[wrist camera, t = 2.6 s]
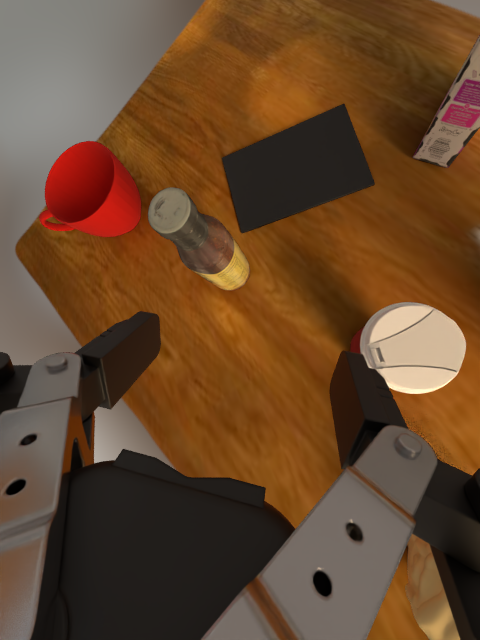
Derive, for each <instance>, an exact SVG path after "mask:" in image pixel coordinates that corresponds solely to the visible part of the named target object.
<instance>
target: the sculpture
mask: <svg viewBox="0 0 480 640" xmlns="http://www.w3.org/2000/svg"><path fill="white" fill-rule="evenodd" d="M407 545H408V559H407V570H408V580H409V582H408V584H407V585H406V587H405V590H406V595H407V598H408V600H409V601H410V603H411V608H412V612H413V615H414V617H415V619H416V621H417V623H418V625H419V626H420V628H421V629H422V630H423V631H424V632H425V633H426V635H427V637H428V638H429V640H460V637H459V634H458V631H457V628H456V625H455V622H454V618H453V615H452V612H451V609H450V606H449V603H448V600H447V597H446V594H445V591H444V588H443V585H442V582H441V579H440V575H439V572H438V569H437V566H436V563H435V560H434V557H433V554H432V551H431V548H430V545H429V543H427V542H425V541H424V540H422V539H420V538H419V537H417V536H415V535H414V534H412V535H411V537H410V539H409V542H408V544H407Z"/></svg>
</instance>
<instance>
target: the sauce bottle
mask: <svg viewBox="0 0 480 640" xmlns="http://www.w3.org/2000/svg"><path fill="white" fill-rule="evenodd" d="M148 220H149V223H150V225H151V226H152V228H153V229H154V230H155V231H156V232H158V233H159V234H160V235H161V236H162V237H164V238H166V239H170V240H171V241H173V243H174V244H175V245H176V246H177V249H178V252H179V255H180V258H181V260H182V262H183V263H184V264H185V265H186V266H187V267H188V268H189V269H191V270H192V271H194V272H195V273H197V274H199V275H200V276H202V277H203V278H205V279H206V280H208V281H209V282H211V283H213V284H214V285H216V286H217V287H219V288H221V289H224V290H237V289H239V288H240V287H242V286H243V285H244V284H245V283H246V282H247V280H248V279H249V276H250V268H249V263H248V261H247V258H246V257H245V255H244V254H243V252H242V251H241V249H240V248H239V246H238V245H237V243H236V242H235V240H234V239H233V237H232V236H231V234H230V233H229V232H228V231H227V230H226V228H225V227H224V226H223V224H222V223H220V221H218V220H217V219H216V218H214V217H211V216H208V215H204V214H200V213H199V212H198V211H197V208H196V206H195V204H194V203H193V201H192V200H191V198H190V197H189V196H188V195H187V194H186V193H185V192H184V191H183V190H181V189H179V188H166V189H164V190H162V191H160V192H159V193H158V194H156V195H155V197H154V198H153V199H152V201H151V203H150V206H149V211H148Z"/></svg>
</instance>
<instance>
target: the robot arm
mask: <svg viewBox="0 0 480 640" xmlns="http://www.w3.org/2000/svg"><path fill="white" fill-rule="evenodd" d="M160 345H161V342H160V323H159V316H158V315H157V314H153V313H148V312H143V311H140V312H138V313H137V314H135V315H134V316H132V317H131V318H130V319H128V320H124V321H122V322H119V323H116V324H115V325H113V326H112V327H110V328H109V329H107V331H105V332H103V333H102V334H100V336H98V337H96V338H95V339H93V340H92V341H91V342H89V343H88V344H86V345H85V346H84V347H82V348H81V349H79V350H78V351H77V352H75V353H70V352H63V353H56V354H52V355H49V356H46V357H44V358H42V359H40V360H39V361H37V362H36V363H35V364H34V365H22V366H21V365H18V366H17V365H16V366H15V365H12V362H11V359H10V357H9V355H8V354H6V353H3V352H0V640H366V638H367V636H368V634H369V632H370V629H371V627H372V625H373V622H374V620H375V618H376V615H377V613H378V611H379V608H380V606H381V604H382V602H383V599H384V597H385V595H386V592H387V590H388V588H389V585H390V583H391V581H392V579H393V576H394V574H395V572H396V569H397V567H398V565H399V562H400V560H401V558H402V555H403V553H404V551H405V549H406V546H407V544H408V542H409V539H410V537H411V535H412V534H414V535H415V536H417V537H419V538H420V539H422V540H424V541H425V542H427V543H429V545H430V548H431V551H432V554H433V557H434V560H435V563H436V566H437V569H438V572H439V575H440V579H441V582H442V585H443V588H444V591H445V594H446V597H447V600H448V603H449V606H450V609H451V612H452V615H453V618H454V622H455V625H456V628H457V631H458V634H459V637H460V640H480V468H479V469H478V470H477V471H476V472H475V473H474V475H473V476H472V475H469V474H467V473H465V472H463V471H461V470H459V469H457V468H455V467H452V466H450V465H448V464H446V463H444V462H442V461H440V460H438V459H437V457H436V454H435V452H434V450H433V449H432V447H431V446H430V445H429V444H428V443H427V442H426V441H425V440H424V439H423V438H422V437H420V436H419V435H418V434H416V433H414V432H413V431H411V430H409V429H408V428H407V425H406V423H405V421H404V419H403V417H402V415H401V413H400V410H399V408H398V406H397V404H396V402H395V400H394V399H393V396H392V393H391V391H389V387H388V385H387V383H386V381H385V379H384V378H383V377H382V376H381V375H380V374H379V373H378V372H377V371H376V370H375V369H372V368H369V367H368V365H367V362H366V360H365V357H364V355H363V354H360V353H354V352H349V351H344V350H343V351H342V352H341V354H340V356H339V359H338V362H337V365H336V368H335V371H334V374H333V377H332V380H331V383H330V400H331V406H332V412H333V419H334V425H335V431H336V438H337V444H338V450H339V456H340V463H341V469H345V470H344V471H343V472H342V473H341V475H340V476H339V477H338V478H337V480H336V481H335V482H334V483H333V484H332V486H331V487H330V488H329V489H328V490H327V492H326V493H325V494H324V495H323V497H322V498H321V499H320V500H319V501H318V503H317V504H316V505H315V506H314V508H313V509H312V510H311V511H310V512H309V514H308V515H307V516H306V517H305V519H304V520H303V521H302V522H301V523H300V525H299V526H298V527H297V528H296V529H295V528H294V527H293V525H292V524H291V523H290V522H289V521H288V519H286V518H285V517H284V516H283V515H282V514H281V513H280V512H279V511H278V510H277V509H275V508H274V507H273V506H272V505H270V504H269V503H267V502H265V501H264V498H265V489H266V488H265V487H261V486H257V485H254V484H250V483H246V482H243V481H239V480H235V479H232V478H191V477H186V476H184V475H183V474H181V473H179V472H178V471H176V470H175V469H173V468H172V467H170V466H168V465H167V464H165V463H164V462H162V461H160V460H159V459H157V458H155V457H151V456H147V455H144V454H140V453H136V452H133V451H129V450H125V449H123V450H122V451H121V453H120V454H119V456H118V457H117V459H116V460H115V461H114V460H112V461H103V462H99V463H94V427H95V426H94V425H95V416H94V410H95V409H96V408H97V407H98V406H99V407H103V408H107V409H111V408H112V407H113V406H114V405H115V404H116V403H117V402H118V401H119V399H120V398H121V397H122V396H123V395H124V394H125V393H126V391H127V390H128V389H129V388H130V387H131V386H132V384H133V383H134V382H135V381H136V380H137V379H138V378H139V376H140V375H141V374H142V373H143V372H144V371H145V370H146V368H147V367H148V366H149V365H150V364H151V363H152V361H153V360H154V359H155V358H156V357H157V355H158V353H159V350H160Z"/></svg>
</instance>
